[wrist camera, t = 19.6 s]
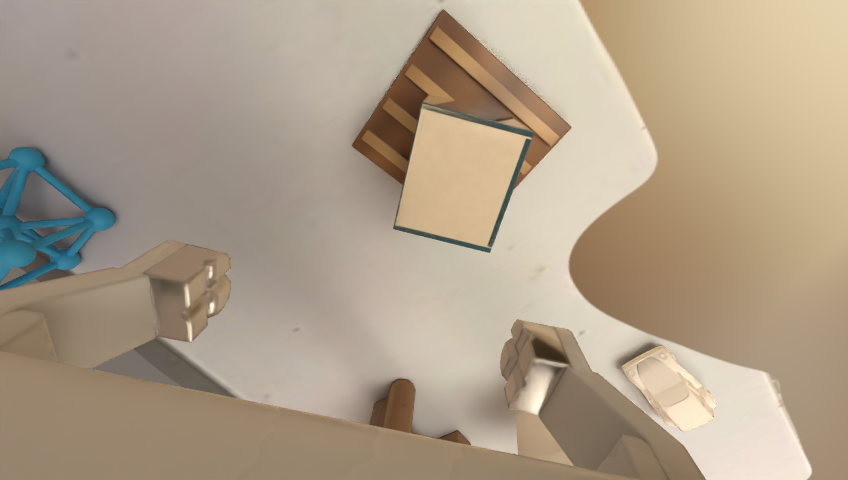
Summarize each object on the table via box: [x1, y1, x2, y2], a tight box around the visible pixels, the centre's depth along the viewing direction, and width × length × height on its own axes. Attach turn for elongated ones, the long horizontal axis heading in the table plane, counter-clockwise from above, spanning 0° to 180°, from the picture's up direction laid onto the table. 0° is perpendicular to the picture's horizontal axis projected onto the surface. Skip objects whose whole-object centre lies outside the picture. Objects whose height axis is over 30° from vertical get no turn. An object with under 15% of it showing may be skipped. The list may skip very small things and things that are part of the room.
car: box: [622, 345, 717, 432], centre depth 39 cm, size 12×6×5 cm, turn 44°
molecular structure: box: [0, 147, 115, 290], centre depth 32 cm, size 10×10×10 cm
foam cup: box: [516, 411, 574, 466], centre depth 38 cm, size 10×9×13 cm
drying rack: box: [352, 9, 571, 190], centre depth 30 cm, size 14×13×1 cm
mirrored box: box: [393, 94, 534, 253], centre depth 26 cm, size 10×7×8 cm
